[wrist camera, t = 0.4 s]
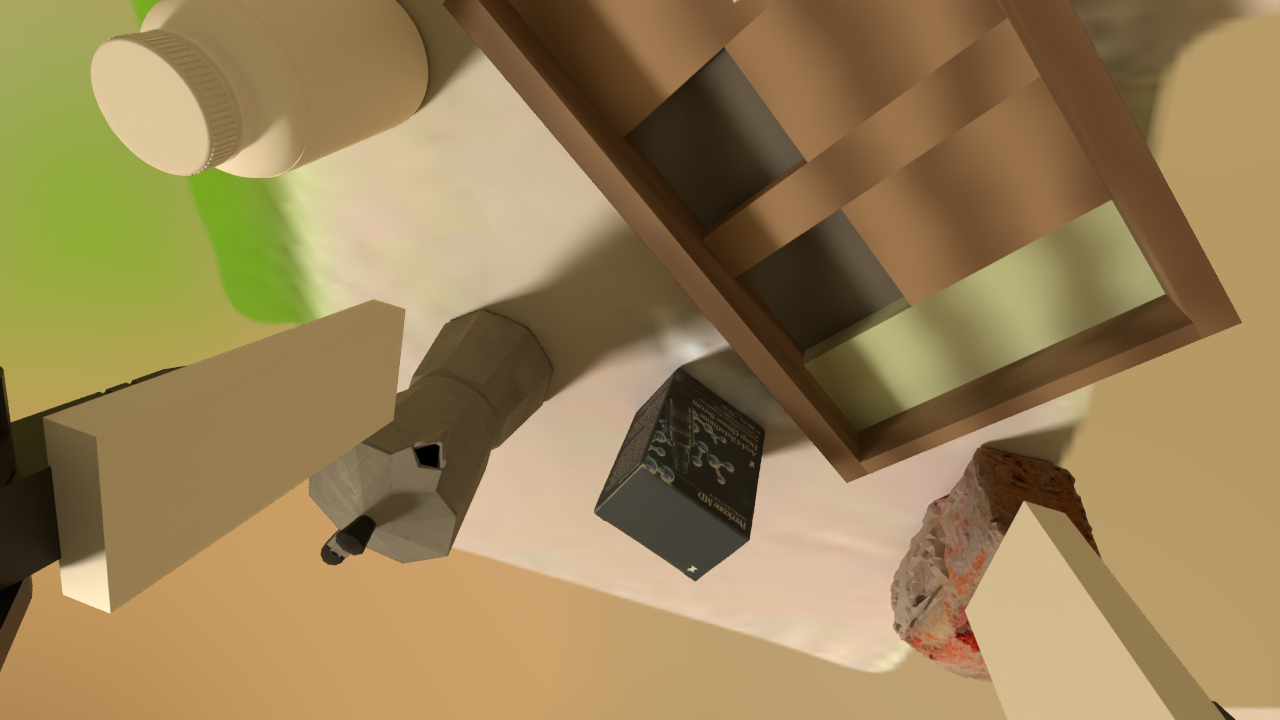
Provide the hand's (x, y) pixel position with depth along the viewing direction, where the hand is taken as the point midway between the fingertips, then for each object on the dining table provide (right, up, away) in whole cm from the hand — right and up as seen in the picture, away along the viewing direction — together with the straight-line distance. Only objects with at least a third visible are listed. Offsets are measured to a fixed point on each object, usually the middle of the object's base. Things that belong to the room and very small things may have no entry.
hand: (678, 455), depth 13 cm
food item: (+22, -9, +31) cm, 40 cm away
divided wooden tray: (+9, +15, +20) cm, 26 cm away
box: (+3, -2, +32) cm, 33 cm away
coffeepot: (-12, +1, +35) cm, 37 cm away
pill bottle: (-17, +20, +24) cm, 35 cm away
